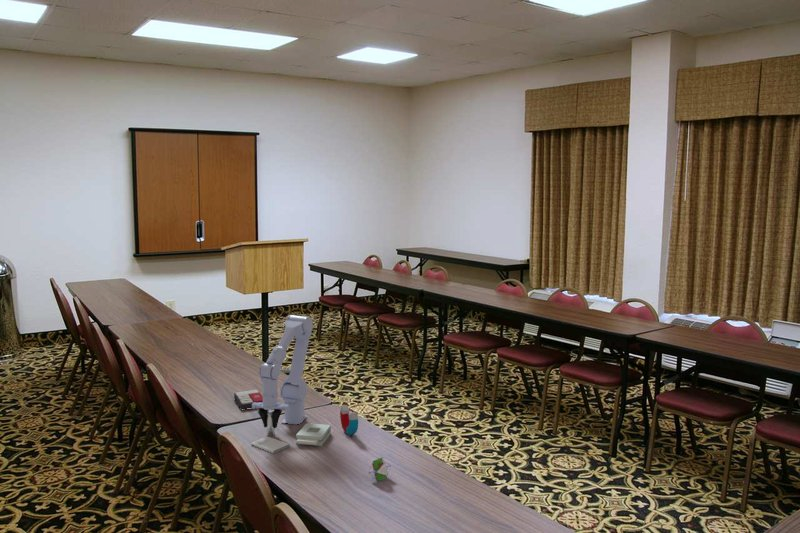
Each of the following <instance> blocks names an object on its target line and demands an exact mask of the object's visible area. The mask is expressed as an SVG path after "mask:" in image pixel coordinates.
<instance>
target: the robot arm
mask: <svg viewBox="0 0 800 533" xmlns="http://www.w3.org/2000/svg"><path fill="white" fill-rule="evenodd" d="M313 325H314V323H313V320H312V318H311V317H310V316H303V315H294V314H289V315H288V316H287V317H286V319H285V321H284V328H285V329H284V331H283V334H282V335H281V338H280V340H279V343H278V345H277V346H275V347H273V348H272V350H271V352H270V354H269V357H268V358H267V359H266V362H265V363H263V364H261V365H260V367H259V371H258V375H259V377H260V381H261V383H262V396H263V402H258V403H256V402H254V403H253V404H252V409H251V410H255V409H259V410H258V412H257V413H258V415H259V416H260V419H261V420H262V424H263V428H266V429H267V411H273V412H272V415H273V428H275V429H277V427H278V425H279V424H278V423H279V419H280V416H281V414H282V412H283V411H284V419H283V420H282V421H281V422H280V423H281V424H285V423H288V424H289V425H297V424H299V425H301V424H302V423H303V422H304V421H305V420H306V418H307V417H308V415H305V414H306V413H305V409H306V408H305V406H306V405H305V398H306V396H307V382H306V381H305V380H304V379H303V374H304V368H305V361H306V357H307V352H308V346H309V340H310V338H311V337H312V332H313ZM294 338H295V342H294V343H295V345H294V348H293V354H292V360H291V365H290V369H289V374H288V376H287V377H285V378H284V379H283V381H282V385H281V386H280V390H279V394H280V397H281V398H282V400H283V402H284V403H280V402H278V401H279V400H278V378H279V377H280V375H281V369H282V364H283V362H284V360H285V358H286V357H287V355H288V354H287V349H288V347H289V345H290V344H291V343H292V341H293V340H294ZM300 423H301V424H300ZM288 424H287V425H288Z"/></svg>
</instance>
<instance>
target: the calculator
mask: <svg viewBox="0 0 800 533" xmlns="http://www.w3.org/2000/svg"><path fill="white" fill-rule="evenodd" d="M233 396H234V397H233V398H234V399H235V400H234V399H233V400H234V402H235V401H236V402H237V403H236V402H235V403H236V404H237V406H238V405H239V406H238V408H239V407H240V408H241V409H247V408H252V404H253V403H254V402H256V403H258V402H263V394H262V393H261V392H260V391H259V389H250V390H247V391H246V390H245V391H238V392H237V391H236V392H234V395H233ZM240 408H239V409H240ZM241 409H240V410H241Z"/></svg>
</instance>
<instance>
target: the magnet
mask: <svg viewBox="0 0 800 533" xmlns="http://www.w3.org/2000/svg"><path fill="white" fill-rule="evenodd" d="M339 411H340V412H339V414H340V415H339V417H340V418H339V419H340V424H341V428H342V430H343V431H344V433H345V434H346V435H347V436H349V435H354V434H356V433H357V432H358V429H359V417H358V412H351V413H350V408H349V406H348V404H345V405H340V410H339Z"/></svg>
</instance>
